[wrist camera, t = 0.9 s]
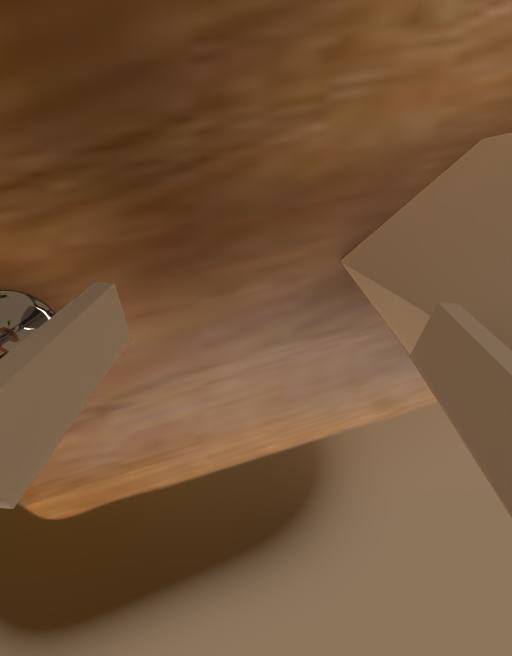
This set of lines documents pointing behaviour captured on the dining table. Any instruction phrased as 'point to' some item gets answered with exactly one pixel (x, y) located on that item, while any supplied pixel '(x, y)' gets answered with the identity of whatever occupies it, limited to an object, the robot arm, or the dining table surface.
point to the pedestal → (446, 248)
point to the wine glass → (20, 317)
